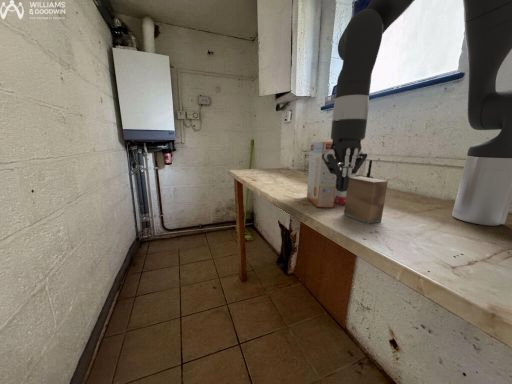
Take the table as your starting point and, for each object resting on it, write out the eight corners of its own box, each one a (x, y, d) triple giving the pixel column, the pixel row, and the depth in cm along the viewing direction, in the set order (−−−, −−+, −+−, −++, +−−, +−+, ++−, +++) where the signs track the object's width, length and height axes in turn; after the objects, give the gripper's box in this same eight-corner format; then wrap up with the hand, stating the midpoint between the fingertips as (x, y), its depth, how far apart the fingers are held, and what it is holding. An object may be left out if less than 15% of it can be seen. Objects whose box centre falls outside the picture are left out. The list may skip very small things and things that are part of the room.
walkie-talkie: (359, 200, 75) (365, 159, 71) (369, 201, 73) (376, 159, 70) (359, 203, 70) (365, 160, 67) (370, 205, 69) (377, 160, 65)
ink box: (353, 205, 69) (357, 170, 66) (338, 204, 69) (342, 170, 66) (343, 198, 77) (346, 167, 74) (330, 198, 77) (333, 167, 75)
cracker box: (335, 208, 65) (342, 141, 60) (316, 208, 65) (321, 141, 60) (321, 197, 79) (326, 141, 74) (306, 196, 79) (310, 141, 74)
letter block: (356, 212, 62) (361, 176, 59) (381, 221, 54) (387, 181, 52) (343, 214, 60) (348, 177, 57) (368, 224, 52) (374, 182, 50)
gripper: (356, 121, 53) (348, 186, 58) (316, 119, 48) (310, 189, 52) (383, 119, 47) (372, 192, 51) (340, 115, 42) (331, 196, 46)
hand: (341, 190), depth 52 cm, fingers closed
